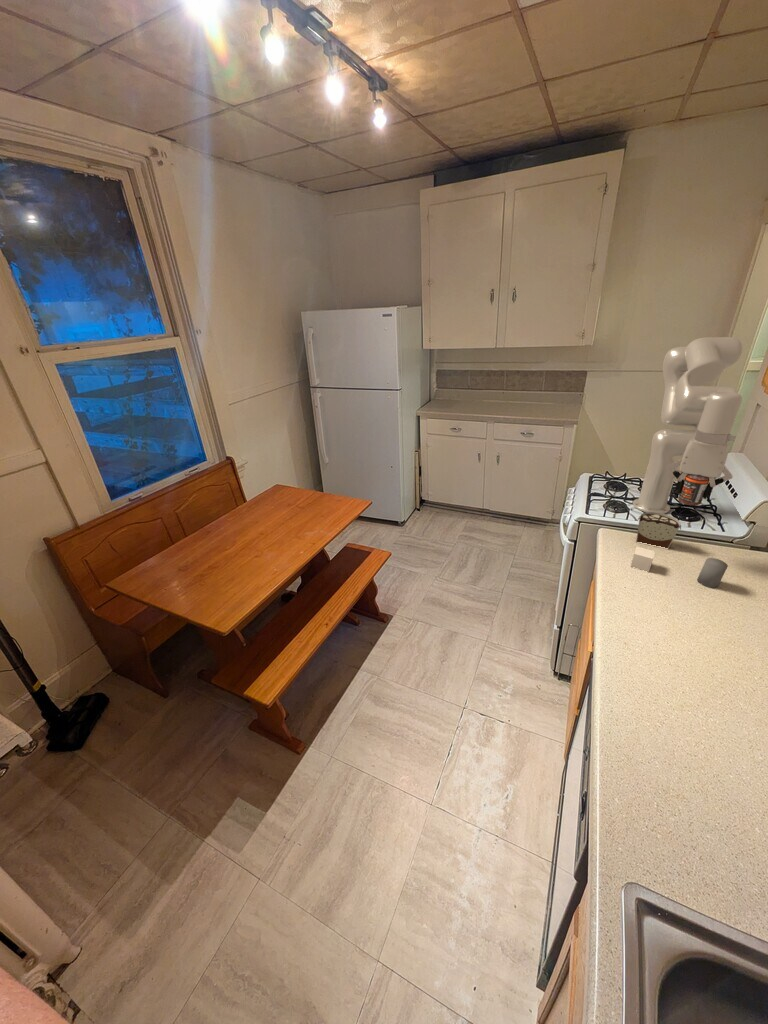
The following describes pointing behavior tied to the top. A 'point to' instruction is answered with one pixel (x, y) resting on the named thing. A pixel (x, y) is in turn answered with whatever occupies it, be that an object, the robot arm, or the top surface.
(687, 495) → the supplement bottle
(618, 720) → the top surface
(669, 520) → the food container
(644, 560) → the off-white block
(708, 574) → the gray cylinder
